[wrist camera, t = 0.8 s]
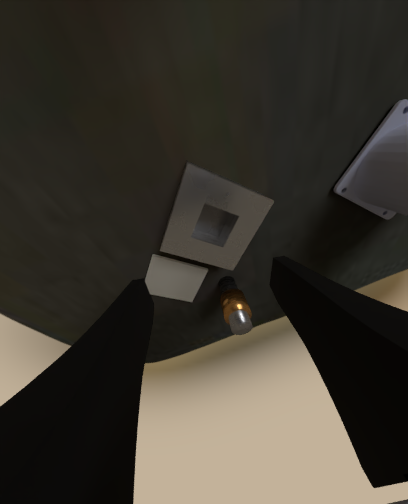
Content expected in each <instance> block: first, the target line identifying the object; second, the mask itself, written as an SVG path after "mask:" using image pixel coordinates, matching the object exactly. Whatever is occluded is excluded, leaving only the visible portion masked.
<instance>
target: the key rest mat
mask: <svg viewBox="0 0 408 504" xmlns="http://www.w3.org/2000/svg"><path fill="white" fill-rule="evenodd" d="M207 272H208V268H205V267H201V266H197V265H194V264H190V263H186V262H182V261H178V260H174V259H171V258H167V257H163V256H159V255H155V254H153V255H152V258H151V262H150V265H149V269H148V272H147V275H146V279H145V283H146V285H147V288H148V290H149V293H150V294H152V295H157V296H162V297H167V298H173V299H178V300H183V301H188V302H192V301H193V299H194V297H195V295H196V293H197V291H198V289H199V287H200V285H201V283H202V281H203V280H204V278H205V276H206V274H207Z"/></svg>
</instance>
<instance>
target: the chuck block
mask: <svg viewBox="0 0 408 504" xmlns="http://www.w3.org/2000/svg"><path fill="white" fill-rule="evenodd" d="M273 203H274V201H273V200H271V199H270V198H268V197H266V196H264V195H263V194H261V193H259V192H257V191H254V190H252V189H250V188H248V187H245V186H243V185H241V184H239V183H236V182H234V181H232V180H230V179H227V178H225V177H223V176H221V175H219V174H216V173H214V172H212V171H210V170H207V169H205V168H203V167H201V166H198V165H196V164H194V163H192V162H189V161H186V164H185V167H184V171H183V174H182V177H181V180H180V183H179V187H178V190H177V193H176V196H175V199H174V203H173V206H172V209H171V212H170V215H169V219H168V222H167V225H166V228H165V231H164V235H163V238H162V243H161V248H160V251H162V252H166V253H170V254H173V255H177V256H181V257H184V258H188V259H192V260H196V261H199V262H203V263H207V264H210V265H214V266H218V267H221V268H225V269H229V270H234V268H235V266H236V265H237V263H238V261H239V260H240V258H241V256H242V255H243V253H244V251H245V250H246V248H247V246H248V245H249V243H250V241H251V239H252V238H253V236H254V234H255V233H256V231H257V229H258V228H259V226H260V224H261V223H262V221H263V219H264V218H265V216H266V214H267V213H268V211H269V209H270V208H271V206H272V204H273Z"/></svg>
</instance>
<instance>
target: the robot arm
mask: <svg viewBox="0 0 408 504" xmlns="http://www.w3.org/2000/svg"><path fill="white" fill-rule="evenodd" d="M403 110H404V111H403ZM343 188H344V189H343ZM342 189H343V191H342ZM333 190H334V192H335V193H337V194H338V195H340V196H342V197H344V198H346V199H348V200H350V201H352V202H353V203H355V204H357V205H359V206H361V207H363V208H365V209H367V210H369V211H370V212H372V213H374V214H376V215H378V216H380V217H382V218H384V219H387V220H388V219H391V218H392V217H393V216H394V215H395V214H396V213H400V214H403V215H406V216H408V100H406V99H405V100H401V101H398V102H397V103H396V104H395V105H394V107H393V108H392V109H391V111H390V112H389V113H388V115H387V116H386V117H385V119H384V120H383V122H382V123H381V124H380V126H379V127H378V128H377V130H376V131H375V132H374V134H373V135H372V136H371V138H370V139H369V141H368V142H367V143H366V145H365V146H364V147H363V149H362V150H361V151H360V153H359V154H358V155H357V157H356V158H355V159H354V161H353V162H352V164H351V165H350V166H349V168H348V169H347V170H346V172H345V173H344V174H343V176H342V177H341V178H340V180H339V181H338V183H337V184H336V185H335V187H334V189H333ZM270 287H271V289H272V291H273V293H274V295H275V297H276V300H277V301H278V303H279V305H280V306H281V308H282V309H283V311H284V313H285V314H286V316H287V317H288V319H289V320H290V322H291V323H292V325H293V327H294V328H295V329H296V331H297V332H298V334H299V336H300V337H301V339H302V341H303V343H304V344H305V346H306V348H307V350H308V352H309V353H310V355H311V357H312V359H313V361H314V363H315V365H316V367H317V369H318V371H319V373H320V375H321V377H322V379H323V381H324V383H325V385H326V387H327V389H328V391H329V394H330V396H331V398H332V400H333V402H334V404H335V406H336V409H337V411H338V413H339V415H340V417H341V420H342V422H343V424H344V426H345V429H346V431H347V433H348V436H349V438H350V440H351V442H352V445H353V447H354V450H355V452H356V454H357V457H358V459H359V462H360V464H361V467H362V468H363V470H364V472H365V474H366V476H367V477H368V479H369V481H370V483H371V485H372V486H373V487H374V488H377V487H382V486H387V485H392V484H397V483H402V482H407V481H408V312H407V311H404V310H401V309H399V308H396V307H393V306H390V305H388V304H385V303H382V302H380V301H377V300H375V299H372V298H370V297H367V296H365V295H363V294H360V293H358V292H356V291H353V290H351V289H349V288H347V287H345V286H342V285H340V284H338V283H336V282H334V281H332V280H330V279H328V278H326V277H324V276H322V275H320V274H318V273H316V272H314V271H312V270H310V269H308V268H306V267H305V266H303V265H301V264H299V263H297V262H295V261H293V260H291V259H289V258H287V257H285V256H281V257H275V258H273V264H272V271H271V279H270ZM153 314H154V303H153V300H152V298H151V295H150V293H149V290H148V288H147V285H146V283H145V280H144V278H143V279H137V280H132V281H131V282H130V284H129V285H128V286H127V287H126V288H125V289H124V291H123V292H122V293H121V294H120V295H119V296H118V298H117V299H116V300H115V301H114V302H113V303H112V304H111V306H110V307H109V308H108V309H107V310H106V311H105V312H104V314H103V315H102V316H101V317H100V318H99V319H98V320H97V321H96V322H95V323H94V324H93V325H92V326H91V327H90V328H89V330H88V331H87V332H86V333H85V334H84V335H83V336H82V337H81V338H80V339H79V340H78V341H77V342H76V343H74V344H73V345H72V346H71V347H70V348H69V349H68V350H67V351H66V352H65V353H64V354H63V355H62V356H61V357H59V358H58V359H57V360H56V361H55V362H54V363H53V364H51V365H50V366H49V367H48V368H47V369H45V370H44V371H43V372H42V373H41V374H40V375H38V376H37V377H36V378H35V379H34V380H33V381H31V382H30V383H29V384H28V385H27V386H25V388H23V389H22V390H21V391H19V392H18V393H17V394H16V395H14V396H13V397H12V398H11V399H9V400H8V401H7V402H6V403H4V404H3V405H2V406H0V504H133V493H134V474H135V456H136V441H137V427H138V414H139V405H140V404H139V403H140V394H141V385H142V376H143V370H144V364H145V359H146V354H147V349H148V344H149V339H150V334H151V329H152V324H153ZM389 504H408V499H407V500H403V501H398V502H394V503H389Z"/></svg>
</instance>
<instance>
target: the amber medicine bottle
mask: <svg viewBox="0 0 408 504" xmlns="http://www.w3.org/2000/svg"><path fill="white" fill-rule="evenodd" d="M219 286H220V290H221V293H222V295H221V297H220V302H221V306H222V310H223V314H224V318H225V321H226V323H228V324H229V325H230V326H231V330H232V332H233V333H234V334H236V335H242V334H246V333H248V332H249V331H250V330H251V329H252V327H253V326H252V323H251V320H250V318H251V315H252V313H251V311H250V308H249V306H248V303H247V301H246V299H245V296H244V294H243V292H242V291H241V290H239V289H238V288H237V285H236V283H235V280H234V279H233V278H232V277H230V276H226V277H223V278H222V279H221V280H220V281H219Z"/></svg>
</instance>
